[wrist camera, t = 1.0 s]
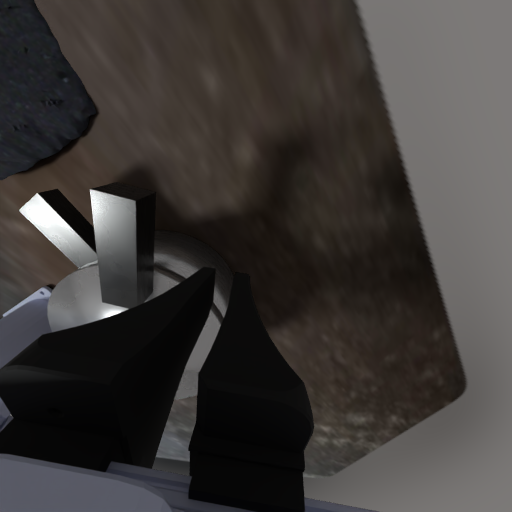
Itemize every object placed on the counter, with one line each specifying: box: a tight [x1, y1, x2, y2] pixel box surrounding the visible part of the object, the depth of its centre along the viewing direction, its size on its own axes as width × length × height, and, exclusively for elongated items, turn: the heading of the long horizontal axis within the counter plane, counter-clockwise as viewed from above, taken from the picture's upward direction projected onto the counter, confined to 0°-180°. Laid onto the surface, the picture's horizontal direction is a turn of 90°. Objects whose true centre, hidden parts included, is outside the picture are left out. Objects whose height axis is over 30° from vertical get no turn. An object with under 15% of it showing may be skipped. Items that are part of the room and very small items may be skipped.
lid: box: [47, 182, 224, 399], centre depth 17 cm, size 20×15×3 cm
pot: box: [19, 189, 234, 318], centre depth 22 cm, size 20×14×6 cm
